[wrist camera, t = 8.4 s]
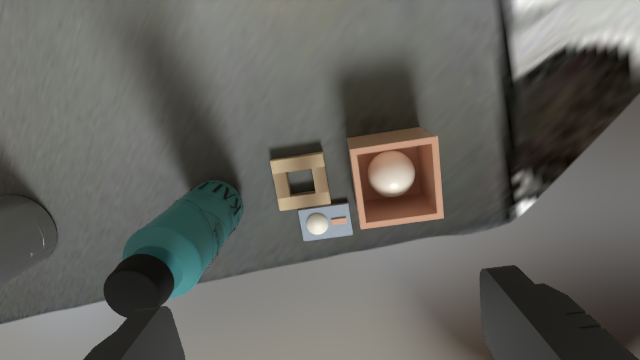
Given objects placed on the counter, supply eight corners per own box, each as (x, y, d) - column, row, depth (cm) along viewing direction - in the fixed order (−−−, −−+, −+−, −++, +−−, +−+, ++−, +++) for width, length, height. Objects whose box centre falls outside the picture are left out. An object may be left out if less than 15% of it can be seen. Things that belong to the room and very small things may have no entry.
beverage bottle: (202, 229, 43) (99, 346, 24) (188, 177, 42) (65, 260, 22) (253, 221, 43) (190, 335, 24) (241, 169, 41) (162, 246, 22)
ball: (368, 191, 41) (373, 206, 36) (362, 150, 40) (367, 159, 35) (411, 185, 41) (422, 199, 36) (407, 143, 39) (417, 152, 35)
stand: (281, 207, 42) (280, 210, 41) (271, 159, 41) (270, 161, 40) (330, 200, 42) (330, 203, 41) (322, 151, 40) (322, 153, 39)
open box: (356, 205, 42) (360, 229, 35) (346, 138, 40) (349, 149, 33) (425, 195, 41) (443, 218, 35) (419, 126, 39) (437, 136, 32)
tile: (304, 239, 43) (303, 242, 43) (298, 208, 42) (297, 211, 42) (352, 232, 43) (352, 235, 42) (348, 201, 42) (348, 204, 41)
